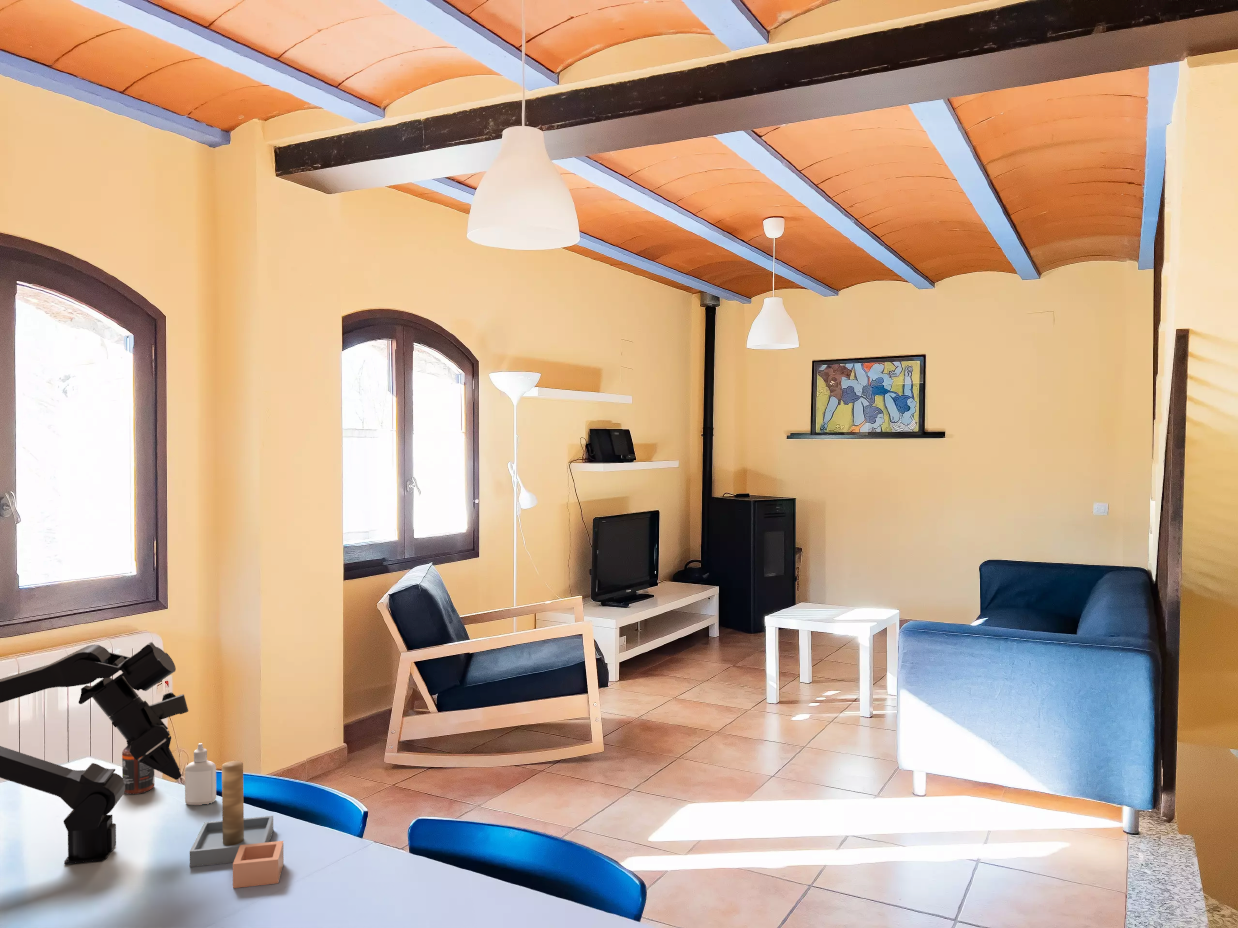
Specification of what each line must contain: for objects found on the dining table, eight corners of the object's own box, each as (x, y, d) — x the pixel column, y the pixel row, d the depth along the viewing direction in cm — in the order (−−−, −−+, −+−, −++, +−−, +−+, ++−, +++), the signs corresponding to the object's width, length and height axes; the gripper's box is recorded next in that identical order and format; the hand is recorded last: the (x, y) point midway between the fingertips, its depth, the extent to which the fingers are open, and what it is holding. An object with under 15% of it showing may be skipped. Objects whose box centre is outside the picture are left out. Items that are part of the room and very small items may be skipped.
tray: (189, 866, 152) (189, 851, 152) (204, 836, 163) (204, 822, 163) (264, 858, 155) (264, 843, 155) (273, 829, 166) (273, 815, 166)
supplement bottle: (160, 784, 188) (160, 732, 187) (143, 795, 182) (142, 741, 182) (134, 783, 188) (133, 731, 188) (116, 794, 182) (115, 740, 182)
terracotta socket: (232, 888, 145) (232, 864, 144) (240, 867, 151) (240, 844, 151) (278, 882, 146) (278, 859, 146) (283, 863, 153) (283, 840, 153)
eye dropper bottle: (201, 808, 176) (200, 749, 175) (181, 803, 178) (181, 744, 178) (219, 800, 180) (219, 742, 179) (200, 795, 182) (199, 738, 182)
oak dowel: (224, 847, 156) (223, 769, 156) (221, 839, 159) (220, 763, 159) (245, 842, 158) (244, 765, 158) (241, 834, 161) (240, 759, 161)
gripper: (167, 677, 152) (222, 748, 154) (165, 675, 169) (215, 739, 171) (105, 721, 147) (163, 794, 149) (108, 715, 163) (161, 780, 165)
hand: (178, 774), depth 159 cm, fingers open, 9 cm apart
